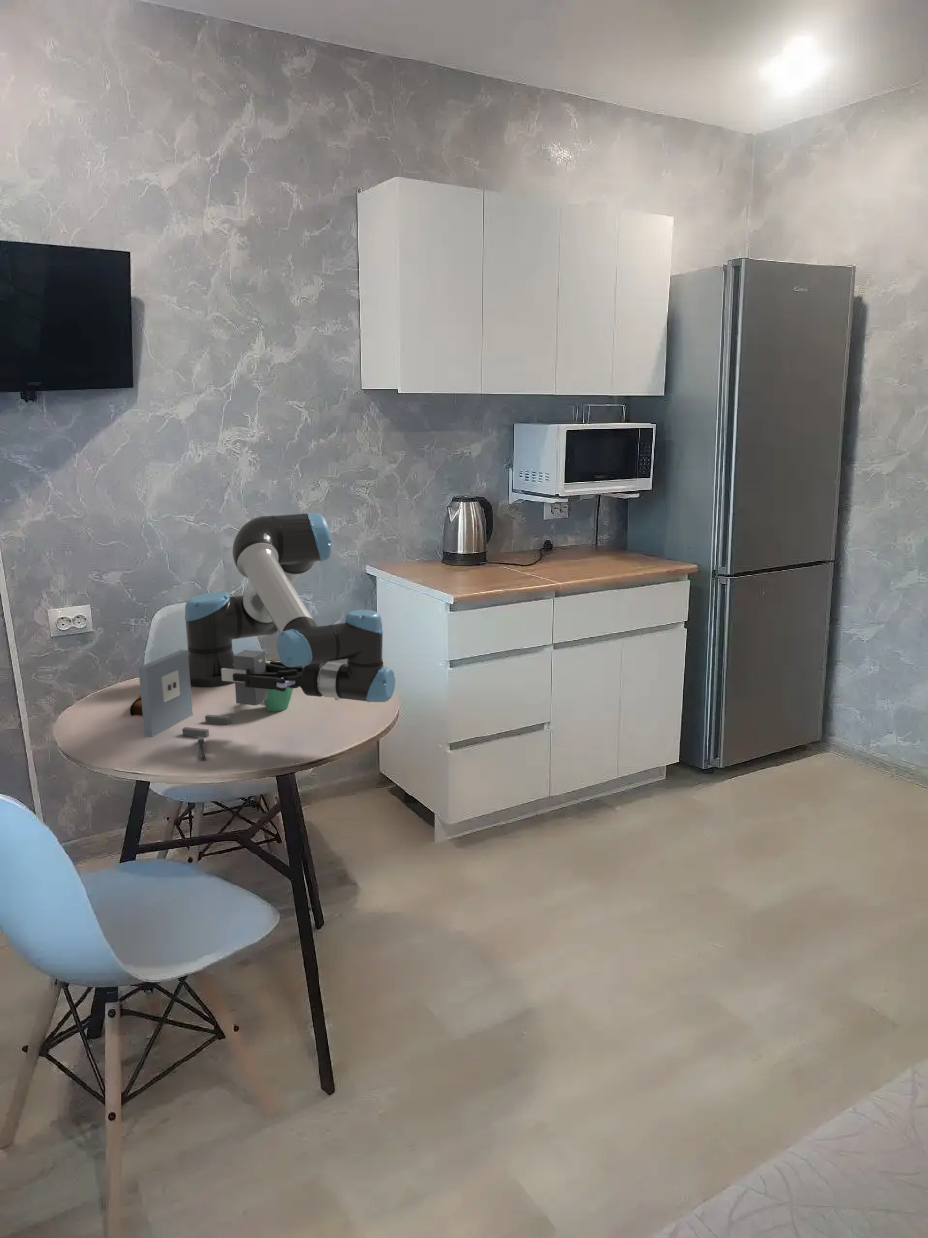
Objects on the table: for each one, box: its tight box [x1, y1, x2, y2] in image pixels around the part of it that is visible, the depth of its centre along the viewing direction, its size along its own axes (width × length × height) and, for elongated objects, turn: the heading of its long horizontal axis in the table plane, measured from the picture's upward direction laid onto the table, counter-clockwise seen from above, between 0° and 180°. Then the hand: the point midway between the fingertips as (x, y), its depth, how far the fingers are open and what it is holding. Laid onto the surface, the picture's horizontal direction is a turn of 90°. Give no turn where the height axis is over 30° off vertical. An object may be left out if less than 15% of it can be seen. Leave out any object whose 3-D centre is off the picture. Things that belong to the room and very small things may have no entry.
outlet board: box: [138, 649, 232, 738], centre depth 207 cm, size 16×14×16 cm
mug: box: [263, 687, 294, 712], centre depth 224 cm, size 15×10×10 cm
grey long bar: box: [197, 737, 207, 761], centre depth 194 cm, size 12×1×1 cm, turn 18°
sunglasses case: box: [129, 694, 143, 717], centre depth 226 cm, size 18×7×7 cm
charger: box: [233, 649, 267, 706], centre depth 202 cm, size 5×6×11 cm
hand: (229, 670), depth 203 cm, fingers closed on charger, 5 cm apart
